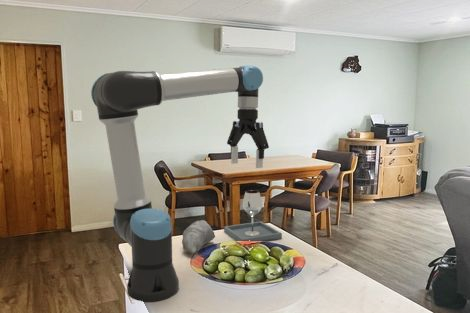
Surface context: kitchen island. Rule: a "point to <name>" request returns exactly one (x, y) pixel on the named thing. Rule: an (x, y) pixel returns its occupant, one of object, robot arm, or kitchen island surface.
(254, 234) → the wineglass
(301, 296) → the kitchen island surface
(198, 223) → the grey rock
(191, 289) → the kitchen island surface
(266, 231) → the tray
